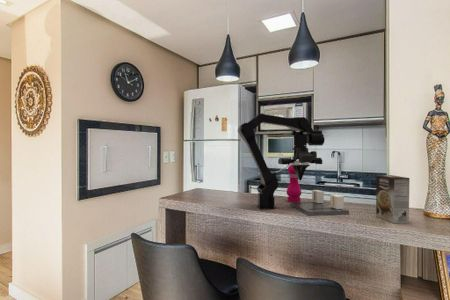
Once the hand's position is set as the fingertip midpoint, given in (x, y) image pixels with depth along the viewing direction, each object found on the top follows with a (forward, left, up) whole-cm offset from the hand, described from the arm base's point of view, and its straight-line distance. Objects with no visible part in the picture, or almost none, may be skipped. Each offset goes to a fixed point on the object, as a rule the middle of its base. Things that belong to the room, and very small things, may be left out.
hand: (300, 180), depth 114 cm
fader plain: (+9, +1, -10) cm, 14 cm away
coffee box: (+25, -24, -12) cm, 37 cm away
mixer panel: (+5, -6, -12) cm, 14 cm away
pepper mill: (+2, +12, -12) cm, 17 cm away
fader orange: (+11, -11, -10) cm, 19 cm away
